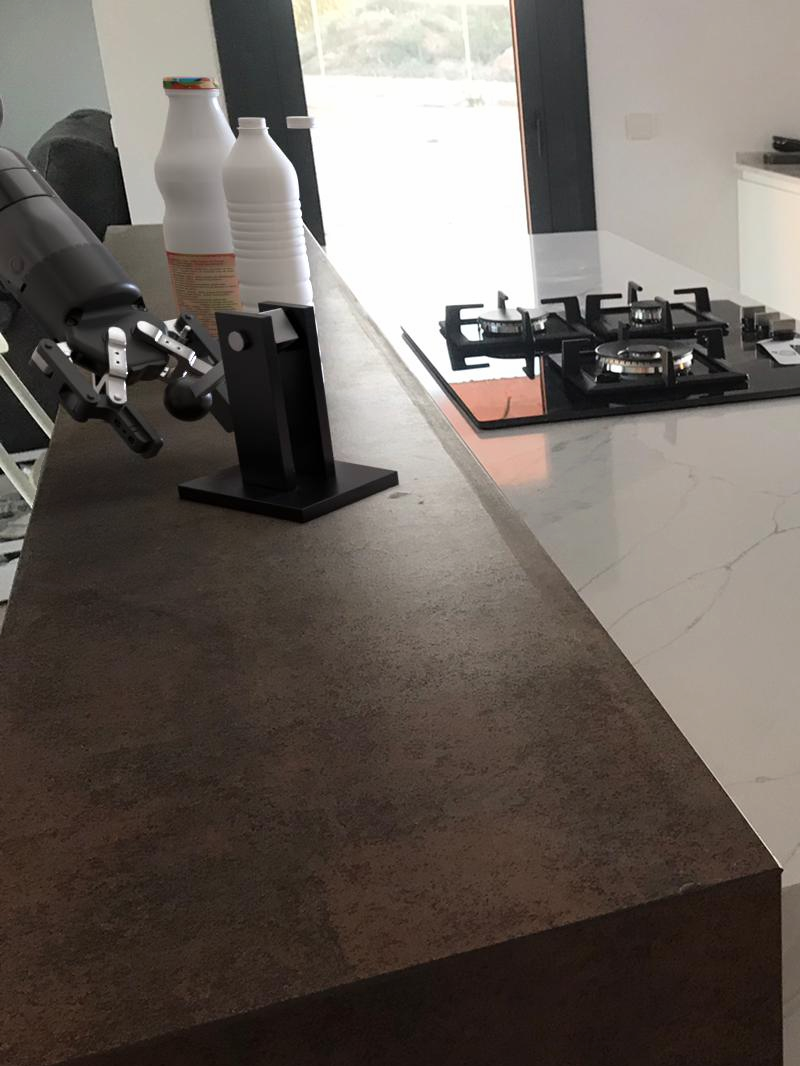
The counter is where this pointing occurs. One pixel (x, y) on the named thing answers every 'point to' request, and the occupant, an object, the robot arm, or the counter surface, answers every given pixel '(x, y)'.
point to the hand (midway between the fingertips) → (198, 438)
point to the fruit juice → (197, 200)
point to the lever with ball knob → (215, 378)
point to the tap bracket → (280, 426)
